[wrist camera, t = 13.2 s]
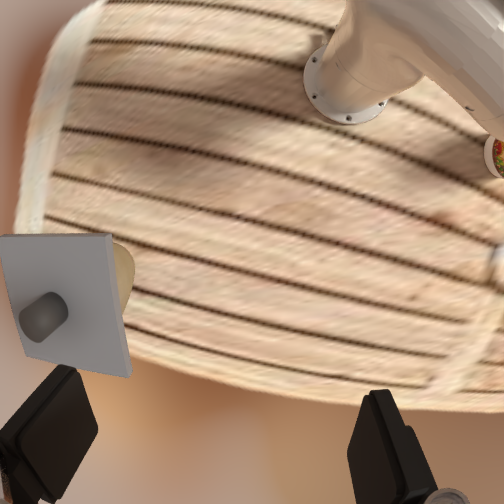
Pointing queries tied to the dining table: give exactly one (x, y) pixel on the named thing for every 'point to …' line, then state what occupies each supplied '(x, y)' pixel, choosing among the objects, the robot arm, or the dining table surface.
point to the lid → (67, 300)
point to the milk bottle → (494, 156)
